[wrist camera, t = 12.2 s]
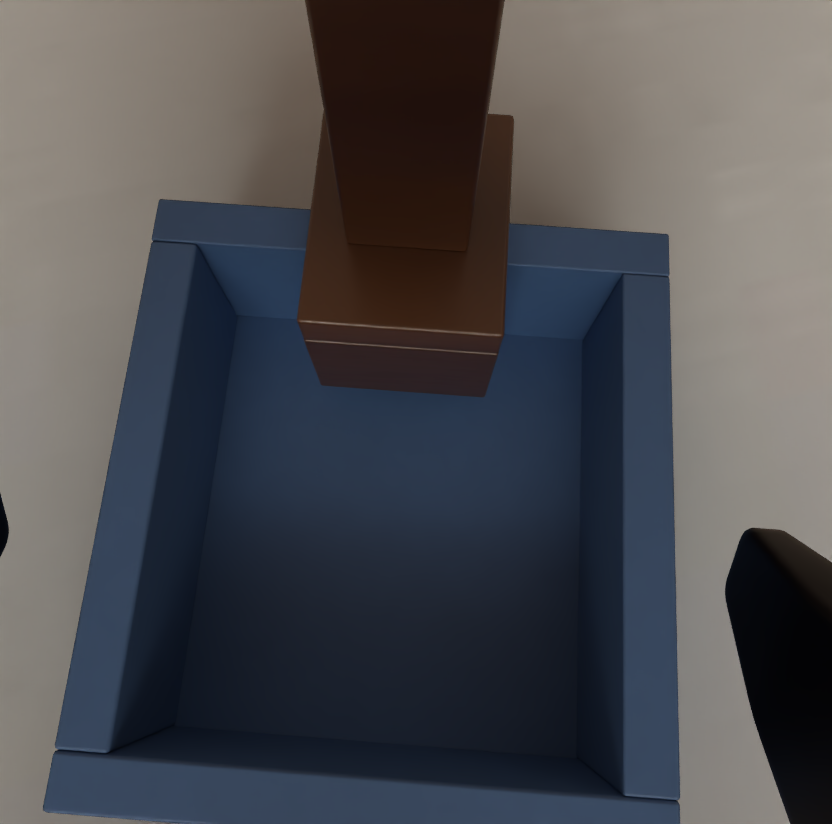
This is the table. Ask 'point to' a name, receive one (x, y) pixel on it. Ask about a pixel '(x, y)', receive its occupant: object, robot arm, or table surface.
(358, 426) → the box
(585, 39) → the table surface
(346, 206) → the brown post stand
